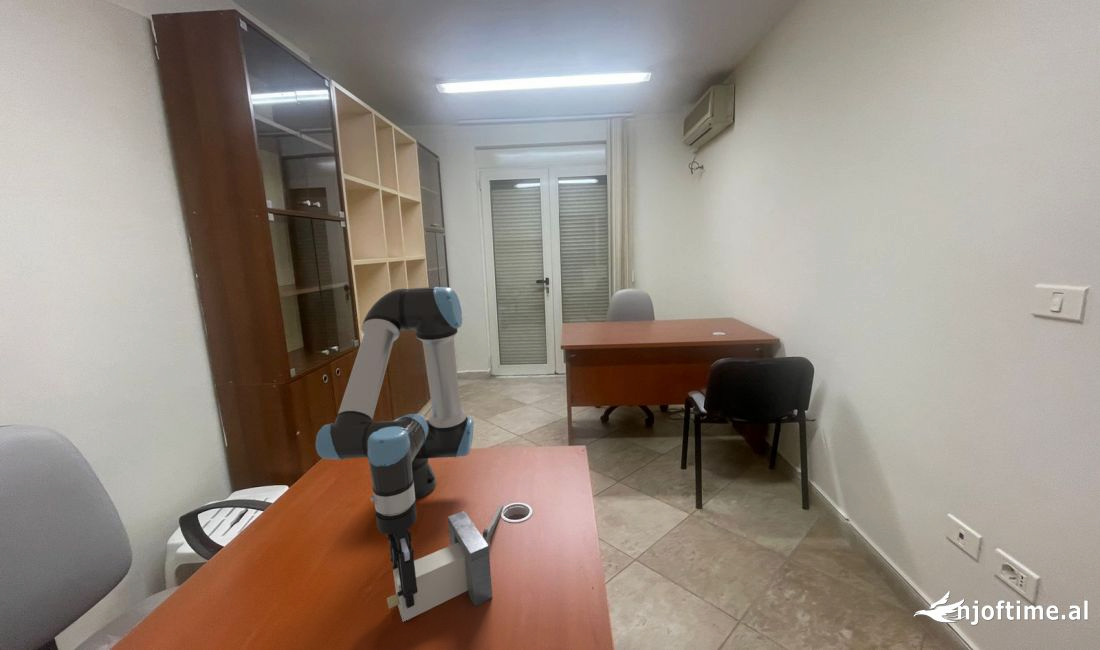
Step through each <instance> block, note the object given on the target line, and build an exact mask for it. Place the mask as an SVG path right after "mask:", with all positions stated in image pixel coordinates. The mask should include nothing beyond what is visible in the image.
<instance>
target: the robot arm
mask: <svg viewBox="0 0 1100 650" xmlns="http://www.w3.org/2000/svg"><path fill="white" fill-rule="evenodd" d="M462 315H463V311H462V307H461V302H460V299H459V296H458V295H457V293H456V291H455V290H454V289H453V288H451V287H441V286H432V287H431V286H429V287H415V288H412V287H411V288H399V289H394V290H392V291H389V292H388V293H386V294H384V295H383V296H382V297H380V298H379V299H378V300H377V301H376V302H375V303H374V304H373V305H372V306H371V308H370V309H369V310H368V311H367V314H366V315H365V317H364V319H363V322H362V325H361V333H363V336H362V339H361V342H360V344H359V348H358V351H357V353H356V354H357V355H356V358H355V360H354V363H353V366H352V370H351V373H350V376H349V378H348V382H347V386H346V388H345V390H344V394H343V397H342V400H341V403H340V407H339V410H338V413H337V414H336V415H337V416H336V418H335V421H334V422H330V423H328V424H324V425H323V426H321V427H320V429H319V430H318V432H317V434H316V438H315V450H316V452H317V455H318V456H319V457H320V458H322V459H325V460H346V459H348V460H349V459H362V458H363V459H364V458H367V459H368V464H369V470H370V471H369V472H370V478H371V484H372V485H371V486H372V493H373V496H371V497H370V502H372V503H374V508H375V518H376V519H375V520H376V526H377V529H378V531H379V532H380V533H381V534H384V535H386V537H387V540H388V545H389V552H390V553H389V554H390V562H391V564H392V570H394V569H396V568H398V571H399V578H400V584H401V591H399V592H398V596H399V597H400V596H401V603H402V611H403V619H404V621H405V622H407V621H409V620H411V619H413V618H414V617H416V616H418V611H417V602H416V593H417V592H418V591H417V590H418V589H417V583H416V574H415V566H414V561H415V556H414V555H415V550H414V548H413V547H412V539H413V538H412V533H411V531H410V530H409V529H410V528H411V527H413V526H414V524H415V523H416V522H417V518H418V514H417V506H416V505H417V504H416V503H417V502H416V500H418V499H420V498H421V499H422V498H423V497H425V496H427V495H428V494H430V493H431V492H432V491H434V489H435V488H436V486H437V477H436V474H435V472H434V471H433V468H432V466H431V464H430V461H429V459H440V458H455V459H456V458H459V457H466V456H468V455H469V454H470V452H471V450H472V444H473V438H474V430H475V429H474V425H475V424H474V418H472V417H468V412H467V411H466V410H465V409H464V408H462V405H461V403H462V402H461V397H460V396H461V395H460V387H459V378H458V377H459V376H458V369H457V361H456V354H455V344H454V337H455V336H456V335H457V334H458V329H459V328H460V327H462V325H463V316H462ZM405 330H406V331H410V330H411V331H414V332H415V337H416V339H418V340H419V341H421V342H422V346H423V347H422V348H423V355H424V360H425V367H426V374H427V380H428V381H427V383H428V388H429V396H430V403H431V410H432V413H431V414H430V415H429V417H428V420H426V418H425V416H424V415H423V414H420V413H408V414H405V415H403V416H401V417H399V418H396V419H394V420H390V421H389V420H388V421H387V420H386V421H373V419H374V415H375V411H376V407H377V404H378V400H379V396H380V392H381V390H382V386H383V382H384V378H385V374H386V370H387V366H388V363H389V360H390V355H391V351H392V348H393V344H394V342H395V341H396V340H397V339H399V337H400V334H401V332H402V331H405ZM406 620H407V621H406Z"/></svg>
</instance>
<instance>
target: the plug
mask: <svg viewBox="0 0 1100 650" xmlns="http://www.w3.org/2000/svg"><path fill="white" fill-rule="evenodd" d="M414 566H415V574H416V583H417V589H418V590H417V591H418V592H417V593H416V602H417V611H418V615H421V614H423V613H425V612H427V611H430V610H431V609H434V608H435V607H437V606H440V605H441V604H443V603H445V602H447V601H449V600H451V599H453V598H455V597H457V596H459V595H461V594H464V593H466V592H468V588H467V577H466V565H465V553H464V549H463V548H462V546H461V544H460V543H459V542H458V543H456V544H453V545H449V546H446V547H445V548H441V549H439V550H436V551H435V552H432V553H430V554H427V555H425V556H423V557H420V558H417V559H414ZM392 571H393V572H392V573H393V580H394V587H395V594H393V595H390V596H389V597H387V598H386V603H387V607H388V609H389V610H391V609H392V608H394V607H396V606H397V607H398V611H399V614H400V618H401V621H402V622H403V623H405V622H404V619H403V611H402V603H401V596H400V597H399V596H398V592H399V591H401V584H400V578H399V571H398V568H396V569H392ZM418 615H417V616H418Z"/></svg>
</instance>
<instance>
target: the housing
mask: <svg viewBox="0 0 1100 650" xmlns="http://www.w3.org/2000/svg"><path fill="white" fill-rule="evenodd" d="M447 520H448V521H447V523H448V533H449V544H450V545H449V546H451V545H453V544H456V543H458V542H459V543H460V544H461V546H462V548H463V549H464V553H465V565H466V577H467V588H468V591H467V595H468V596H469V598H470V600H471V602H472V604H473V606H474V607H476V606H477V607H478V606H479V605H481V604H482V603H485V602H487V601H488V600H490V599H492V598H493V588H492V575H491V572H492V571H491V563H490V547H489V546H488V544H487V543H486V541H485V540H484V538H483V534H481V532H480V531H479V530H478V528H477V527H476V525H475V524H474V523H473V521H472V520H471V519H470V517H469V516H468V513H466V511H465V510H462V511H459V512H457V513H455V514H452V515H449V516H447Z"/></svg>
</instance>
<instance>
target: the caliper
mask: <svg viewBox="0 0 1100 650" xmlns="http://www.w3.org/2000/svg"><path fill="white" fill-rule="evenodd" d="M503 510H504V505H498V507H497V510H496V511H495V513H494V515H493V518H491V522H490V523H489V524H488V526H487V527H486V529H485V528H483V531H482V537H483V538H484V540H485V541H486V543H487V544H488V546H489V548H491V547H490V544H491V543H490V542H491V538H492V537H493V536H494V535H493V534H494V530H495V528H496V526H497V524H498V521H499V520H500V518H501V515H502V513H503Z"/></svg>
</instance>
